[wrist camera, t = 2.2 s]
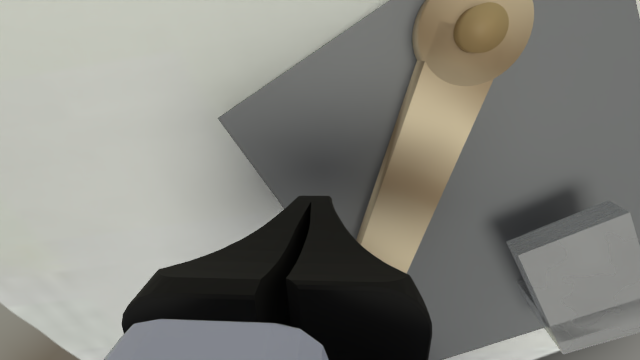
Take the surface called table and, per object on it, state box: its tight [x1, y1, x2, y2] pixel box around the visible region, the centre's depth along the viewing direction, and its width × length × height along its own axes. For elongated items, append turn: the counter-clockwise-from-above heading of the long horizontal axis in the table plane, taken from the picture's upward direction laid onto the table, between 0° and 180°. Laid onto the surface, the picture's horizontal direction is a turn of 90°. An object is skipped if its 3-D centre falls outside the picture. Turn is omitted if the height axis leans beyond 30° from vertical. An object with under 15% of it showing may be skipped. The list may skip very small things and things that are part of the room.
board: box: [218, 0, 640, 360], centre depth 18 cm, size 20×24×1 cm
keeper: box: [506, 200, 640, 354], centre depth 17 cm, size 8×5×4 cm, turn 32°
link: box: [356, 0, 534, 274], centre depth 15 cm, size 16×5×2 cm, turn 167°
